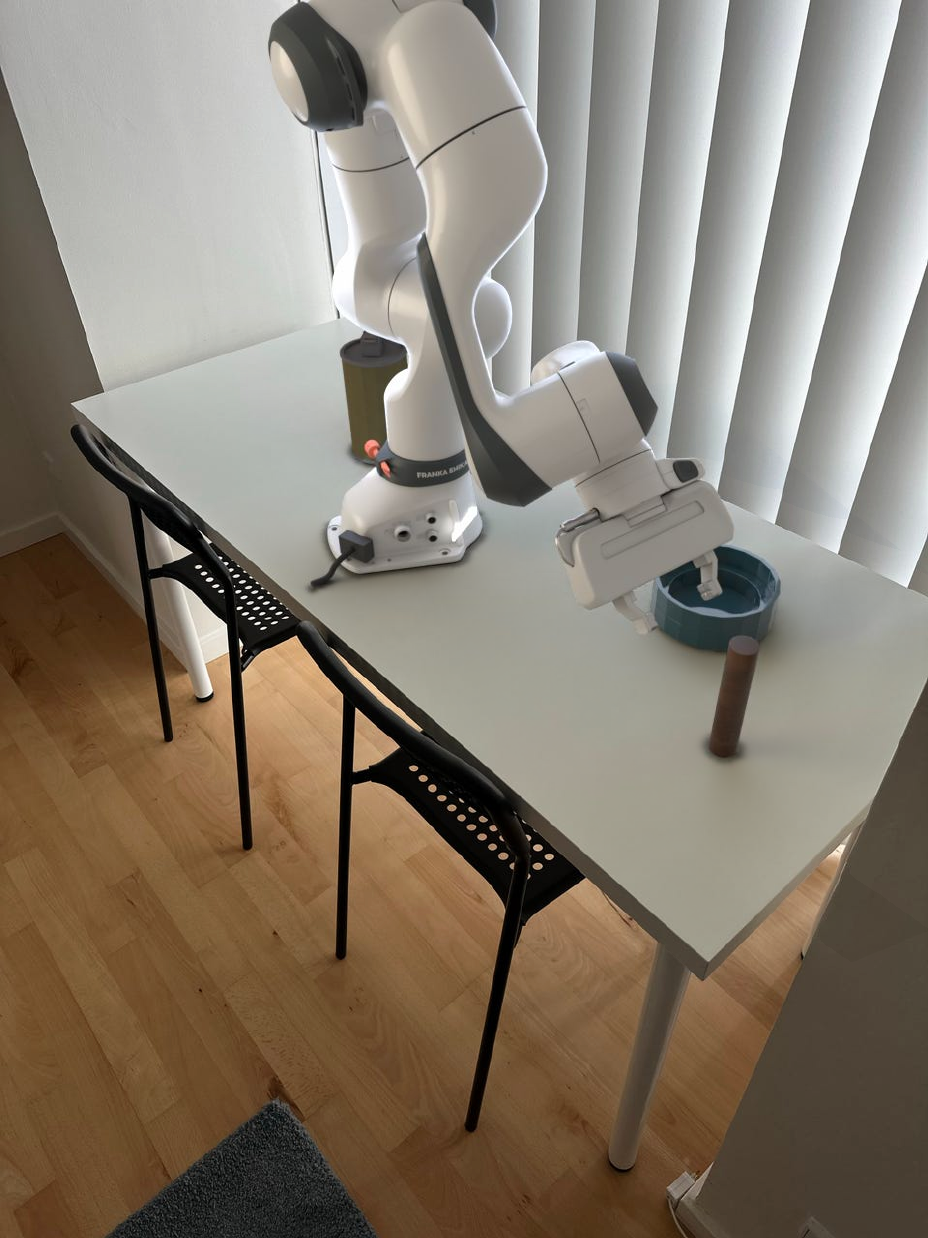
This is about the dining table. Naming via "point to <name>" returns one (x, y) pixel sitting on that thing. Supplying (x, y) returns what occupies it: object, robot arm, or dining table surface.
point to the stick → (733, 695)
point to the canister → (369, 387)
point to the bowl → (718, 600)
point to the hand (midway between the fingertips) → (682, 614)
